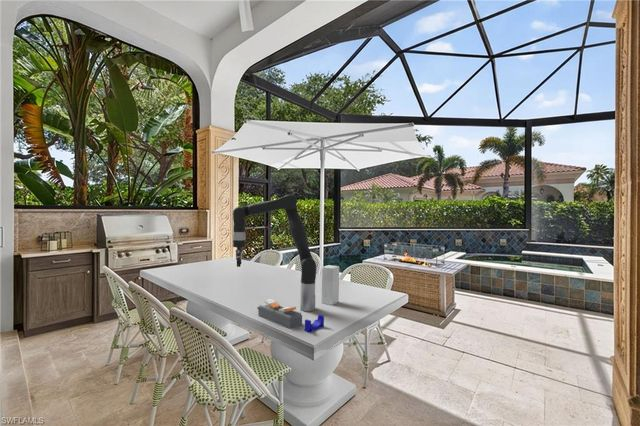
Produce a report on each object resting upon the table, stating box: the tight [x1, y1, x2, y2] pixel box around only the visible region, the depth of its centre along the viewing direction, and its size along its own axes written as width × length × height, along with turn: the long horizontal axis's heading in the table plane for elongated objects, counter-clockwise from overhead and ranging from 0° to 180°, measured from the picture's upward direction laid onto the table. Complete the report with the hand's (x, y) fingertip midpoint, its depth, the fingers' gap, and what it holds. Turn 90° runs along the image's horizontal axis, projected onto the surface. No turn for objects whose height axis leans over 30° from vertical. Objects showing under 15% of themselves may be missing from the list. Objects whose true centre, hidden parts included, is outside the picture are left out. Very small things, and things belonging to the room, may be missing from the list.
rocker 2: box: [279, 306, 297, 311], centre depth 171 cm, size 9×5×1 cm, turn 48°
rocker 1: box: [263, 298, 281, 309], centre depth 180 cm, size 9×5×1 cm, turn 48°
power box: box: [257, 304, 303, 329], centre depth 178 cm, size 34×9×6 cm, turn 48°
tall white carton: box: [321, 264, 340, 306], centre depth 210 cm, size 9×9×25 cm
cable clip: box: [304, 314, 325, 333], centre depth 164 cm, size 12×4×6 cm, turn 138°
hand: (239, 265), depth 188 cm, fingers open, 8 cm apart
